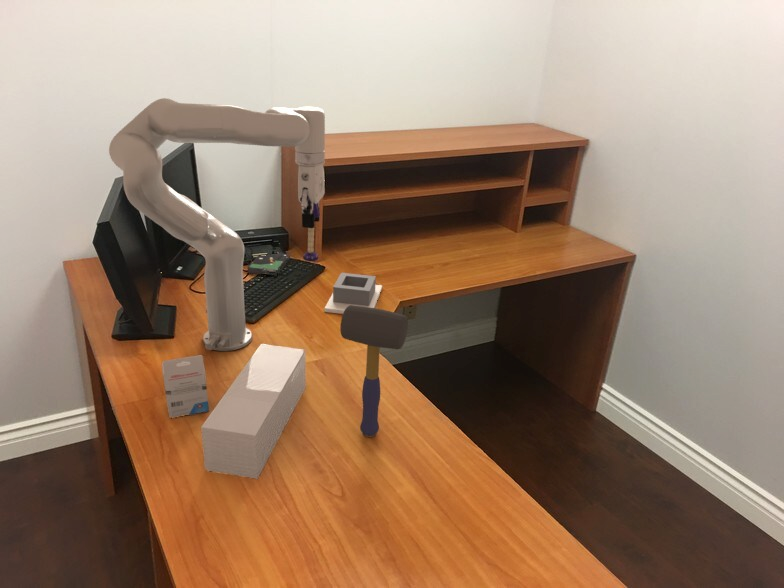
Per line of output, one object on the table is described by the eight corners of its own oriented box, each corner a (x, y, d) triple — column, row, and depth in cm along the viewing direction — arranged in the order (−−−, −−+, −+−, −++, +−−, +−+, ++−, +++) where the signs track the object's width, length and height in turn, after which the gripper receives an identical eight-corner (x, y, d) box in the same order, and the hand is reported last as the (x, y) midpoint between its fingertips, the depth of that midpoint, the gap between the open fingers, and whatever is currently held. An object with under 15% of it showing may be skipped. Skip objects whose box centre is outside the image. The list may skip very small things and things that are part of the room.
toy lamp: (322, 257, 175) (322, 199, 167) (316, 263, 171) (315, 204, 163) (306, 254, 176) (305, 197, 168) (300, 260, 172) (298, 202, 164)
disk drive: (261, 258, 219) (247, 274, 206) (261, 251, 218) (246, 266, 205) (290, 261, 218) (277, 277, 205) (290, 253, 217) (277, 269, 204)
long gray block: (262, 382, 150) (261, 343, 145) (305, 388, 149) (305, 349, 144) (205, 471, 121) (200, 427, 117) (257, 480, 120) (255, 435, 115)
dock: (371, 317, 182) (371, 298, 180) (324, 311, 184) (324, 292, 181) (381, 288, 200) (382, 271, 198) (339, 284, 202) (339, 266, 199)
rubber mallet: (401, 430, 136) (411, 307, 123) (391, 451, 129) (400, 324, 116) (348, 417, 139) (351, 296, 126) (335, 437, 132) (338, 312, 119)
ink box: (206, 399, 142) (200, 343, 136) (209, 411, 138) (204, 355, 132) (166, 406, 139) (159, 350, 133) (169, 419, 135) (161, 361, 128)
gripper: (315, 166, 153) (316, 236, 161) (332, 151, 168) (331, 215, 176) (286, 163, 154) (288, 233, 162) (304, 148, 169) (305, 213, 177)
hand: (310, 223), depth 169 cm, fingers closed on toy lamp, 4 cm apart
